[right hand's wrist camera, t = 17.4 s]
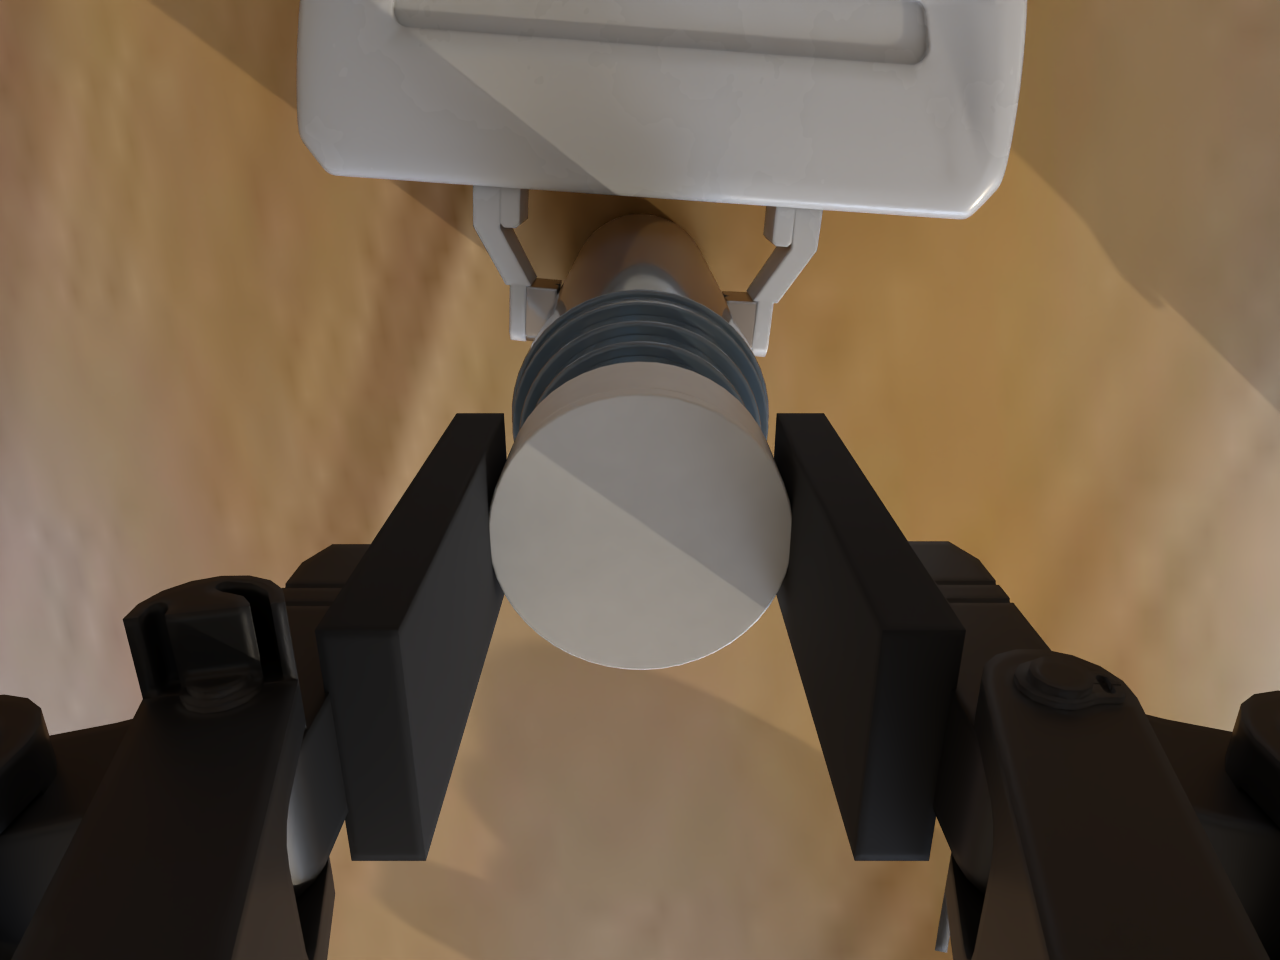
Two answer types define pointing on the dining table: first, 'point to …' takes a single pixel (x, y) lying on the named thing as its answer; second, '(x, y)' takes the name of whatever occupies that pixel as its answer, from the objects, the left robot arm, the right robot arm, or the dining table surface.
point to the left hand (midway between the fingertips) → (639, 345)
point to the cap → (640, 518)
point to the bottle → (640, 317)
